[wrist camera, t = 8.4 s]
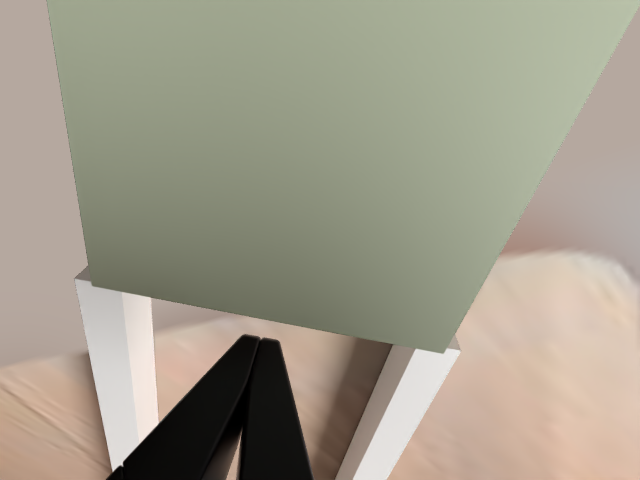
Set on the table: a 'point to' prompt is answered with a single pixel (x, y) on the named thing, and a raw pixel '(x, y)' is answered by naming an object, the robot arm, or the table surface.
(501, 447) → the table surface
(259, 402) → the robot arm
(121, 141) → the block
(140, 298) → the channel
